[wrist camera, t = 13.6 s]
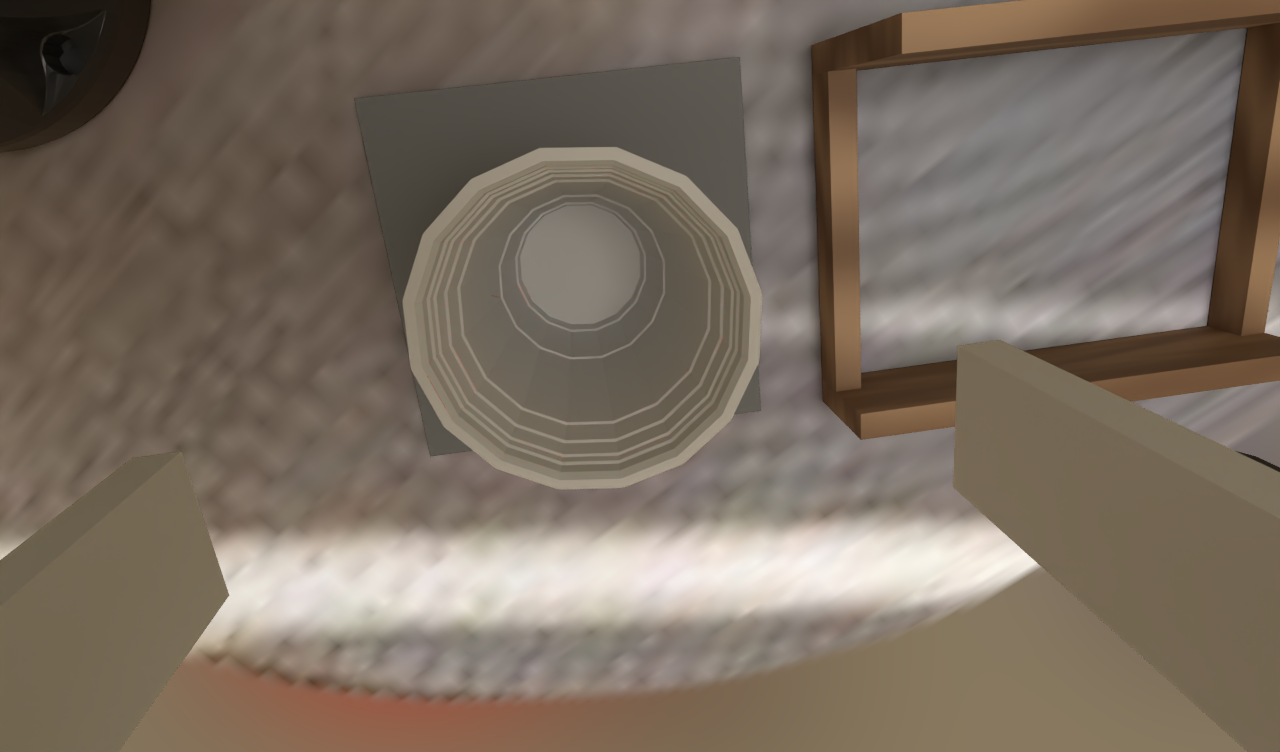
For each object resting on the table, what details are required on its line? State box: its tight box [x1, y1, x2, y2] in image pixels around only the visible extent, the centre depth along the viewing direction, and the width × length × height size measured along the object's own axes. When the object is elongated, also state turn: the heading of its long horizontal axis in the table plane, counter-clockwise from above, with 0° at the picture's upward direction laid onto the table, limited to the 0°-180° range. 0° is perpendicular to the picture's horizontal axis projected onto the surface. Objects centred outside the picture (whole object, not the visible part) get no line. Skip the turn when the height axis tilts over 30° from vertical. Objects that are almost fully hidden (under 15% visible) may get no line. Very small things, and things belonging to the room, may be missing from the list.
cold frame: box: [812, 0, 1280, 440], centre depth 31 cm, size 16×21×9 cm
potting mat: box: [354, 57, 761, 456], centre depth 34 cm, size 16×16×1 cm
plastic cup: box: [402, 147, 762, 489], centre depth 28 cm, size 11×11×12 cm
